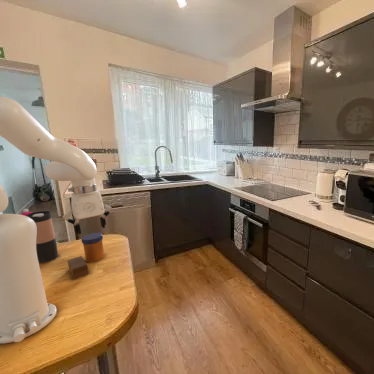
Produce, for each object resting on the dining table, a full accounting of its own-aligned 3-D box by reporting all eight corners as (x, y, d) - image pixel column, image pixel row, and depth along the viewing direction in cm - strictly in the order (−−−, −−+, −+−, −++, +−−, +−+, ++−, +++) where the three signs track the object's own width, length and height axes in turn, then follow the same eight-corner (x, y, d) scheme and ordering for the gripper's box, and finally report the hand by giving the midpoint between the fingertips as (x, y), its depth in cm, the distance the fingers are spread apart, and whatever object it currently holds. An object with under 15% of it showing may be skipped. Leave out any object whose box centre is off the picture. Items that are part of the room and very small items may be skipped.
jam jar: (106, 257, 93) (103, 237, 91) (88, 264, 88) (84, 242, 86) (102, 252, 97) (99, 232, 95) (84, 258, 92) (80, 237, 90)
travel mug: (41, 255, 94) (32, 211, 90) (62, 252, 96) (54, 210, 92) (29, 264, 87) (19, 217, 83) (53, 261, 89) (43, 216, 85)
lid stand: (88, 274, 82) (87, 264, 81) (74, 279, 78) (72, 269, 78) (83, 264, 87) (81, 255, 87) (69, 269, 84) (67, 260, 83)
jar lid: (104, 240, 91) (104, 236, 91) (84, 246, 86) (83, 241, 86) (100, 235, 96) (99, 231, 95) (80, 240, 91) (79, 236, 90)
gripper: (57, 194, 77) (66, 239, 81) (112, 187, 90) (117, 226, 94) (54, 191, 82) (63, 233, 86) (107, 184, 95) (112, 221, 99)
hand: (91, 229), depth 90 cm, fingers open, 7 cm apart
